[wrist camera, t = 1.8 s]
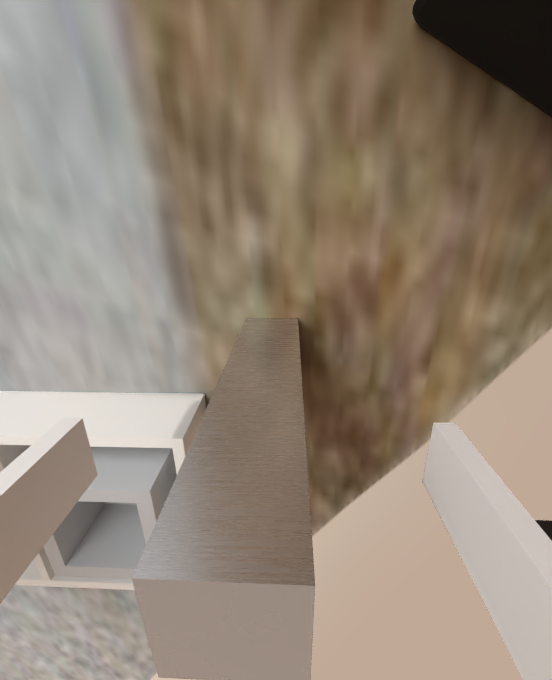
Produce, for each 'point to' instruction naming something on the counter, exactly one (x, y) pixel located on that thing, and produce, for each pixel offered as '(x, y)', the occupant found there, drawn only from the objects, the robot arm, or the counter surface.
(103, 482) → the housing
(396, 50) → the counter surface
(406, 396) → the counter surface
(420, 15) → the electronic device
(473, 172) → the counter surface
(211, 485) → the rectangular gray bar
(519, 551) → the robot arm
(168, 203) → the counter surface
